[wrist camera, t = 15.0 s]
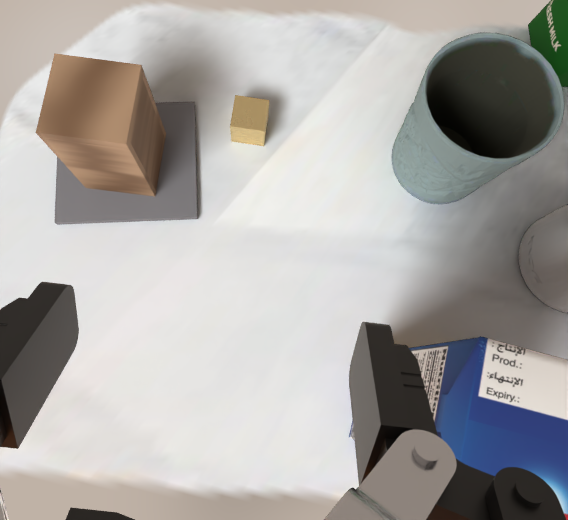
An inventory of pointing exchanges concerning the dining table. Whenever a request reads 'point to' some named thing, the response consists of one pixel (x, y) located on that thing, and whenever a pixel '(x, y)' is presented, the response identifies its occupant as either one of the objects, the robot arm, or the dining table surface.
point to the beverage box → (500, 407)
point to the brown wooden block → (103, 124)
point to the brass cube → (249, 120)
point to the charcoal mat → (132, 207)
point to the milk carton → (552, 37)
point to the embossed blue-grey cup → (476, 116)
